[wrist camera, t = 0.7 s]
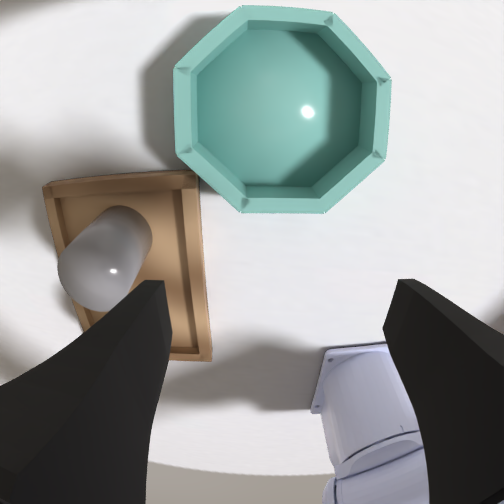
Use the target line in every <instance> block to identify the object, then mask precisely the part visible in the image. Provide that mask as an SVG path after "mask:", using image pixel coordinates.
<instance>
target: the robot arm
mask: <svg viewBox="0 0 504 504" xmlns="http://www.w3.org/2000/svg"><path fill="white" fill-rule="evenodd" d="M383 332H384V335H385V339H386V343H387V344H378V345H370V346H360V347H350V348H338V349H329V350H327V351H326V353H325V355H324V360H323V364H322V368H321V372H320V376H319V380H318V383H317V387H316V391H315V395H314V398H313V402H312V405H311V409H310V411H311V413H312V414H320V413H321V418H322V423H323V428H324V433H325V438H326V443H327V448H328V453H329V458H330V461H331V463H332V465H333V466H334V469H335V474H336V477H332V478H330V479H329V480H328V482H327V485H326V486H325V488H324V491H323V496H322V503H323V504H504V335H503V334H501V333H499V332H498V331H496V330H494V329H493V328H491V327H489V326H488V325H486V324H485V323H483V322H481V321H480V320H478V319H477V318H475V317H474V316H472V315H471V314H469V313H468V312H466V311H465V310H463V309H462V308H460V307H459V306H457V305H456V304H454V303H453V302H451V301H450V300H448V299H447V298H445V297H444V296H442V295H441V294H439V293H438V292H436V291H434V290H433V289H431V288H430V287H428V286H426V285H425V284H423V283H421V282H419V281H417V280H415V279H398V282H397V285H396V289H395V292H394V295H393V298H392V302H391V305H390V308H389V311H388V314H387V317H386V320H385V323H384V325H383ZM172 334H173V331H172V325H171V320H170V314H169V308H168V302H167V296H166V289H165V283H164V280H144V281H143V282H141V283H140V284H139V285H138V286H137V287H135V288H134V289H133V290H132V291H131V292H130V293H129V294H128V295H127V296H125V297H124V298H123V299H122V300H121V301H120V302H119V303H118V304H117V305H116V306H114V307H113V308H112V309H111V310H110V311H109V312H108V313H107V314H105V315H104V316H103V317H102V318H101V319H100V320H99V321H97V322H96V323H95V324H94V325H92V326H91V327H90V328H89V329H88V330H86V331H85V332H84V333H83V334H82V335H80V336H79V337H78V338H77V339H75V340H74V341H73V342H72V343H70V344H69V345H68V346H66V347H65V348H63V349H62V350H61V351H59V352H58V353H56V354H55V355H53V356H52V357H50V358H49V359H47V360H46V361H44V362H43V363H41V364H39V365H38V366H36V367H34V368H33V369H31V370H29V371H27V372H26V373H24V374H22V375H21V376H19V377H17V378H15V379H13V380H11V381H9V382H7V383H5V384H3V385H1V386H0V504H145V500H146V476H147V463H148V452H149V443H150V435H151V429H152V424H153V419H154V415H155V411H156V407H157V403H158V400H159V396H160V392H161V388H162V384H163V381H164V377H165V373H166V369H167V366H168V362H169V356H170V349H171V342H172ZM330 358H331V359H330Z"/></svg>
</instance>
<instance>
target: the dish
mask: <svg viewBox="0 0 504 504" xmlns="http://www.w3.org/2000/svg"><path fill="white" fill-rule="evenodd" d="M174 67H176V68H173V95H174V129H175V151H176V154H178V155H177V156H178V157H179V158H180V159H181V160H182V161H183V162H184V163H185V164H186V165H188V166H189V167H190V168H191V169H192V170H193V171H194V172H195V173H196V174H198V175H199V176H200V177H201V178H202V179H203V180H204V181H205V182H206V183H208V184H209V185H210V186H211V187H212V188H213V189H214V190H215V191H216V192H217V193H219V194H220V195H221V196H222V197H223V198H224V199H225V200H226V201H227V202H228V203H230V204H231V205H232V206H233V207H234V208H235V209H236V210H237V211H238V212H240V211H241V213H313V214H324V212H325V213H326V212H327V211H328V210H330V209H331V208H332V207H333V206H334V205H335V204H336V203H338V202H339V201H340V200H341V199H342V198H343V197H344V196H346V195H347V194H348V193H349V192H350V191H351V190H352V189H354V188H355V187H356V186H357V185H358V184H359V183H360V182H361V181H363V180H364V179H365V178H366V177H367V176H368V175H369V174H371V173H372V172H373V171H374V170H375V169H376V168H377V167H378V166H380V165H381V164H382V163H383V162H384V161H385V160H384V159H386V152H387V143H388V132H389V119H390V103H391V81H392V80H391V79H390V78H391V77H390V76H389V75H388V73H387V72H386V71H385V69H384V68H383V67H382V66H381V64H380V63H379V62H378V61H377V59H376V58H375V57H374V56H373V55H372V53H371V52H370V51H369V50H368V49H367V48H366V46H365V45H364V44H363V43H362V42H361V41H360V40H359V38H358V37H357V36H356V35H355V34H354V33H353V32H352V31H351V30H350V29H349V28H348V26H347V25H346V24H345V23H344V22H343V21H342V20H341V19H340V18H339V17H338V16H337V15H336V14H335V13H334V14H333V12H328V11H321V10H313V9H304V8H293V7H280V6H254V5H242V7H240V6H239V7H238V8H237V9H236V10H234V11H233V12H232V13H231V14H230V15H228V16H227V17H226V18H225V19H224V20H222V21H221V22H220V23H219V24H218V25H217V26H216V27H214V28H213V29H212V30H211V31H210V32H209V33H208V34H207V35H206V36H204V37H203V38H202V39H201V40H200V41H199V42H198V43H197V44H196V45H195V46H194V47H193V48H192V49H191V50H190V51H189V52H188V53H187V54H186V55H185V56H184V57H183V58H182V59H181V60H180V61H179V62H178V63H177V64H176V65H175V66H174Z"/></svg>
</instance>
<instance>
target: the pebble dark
mask: <svg viewBox="0 0 504 504" xmlns="http://www.w3.org/2000/svg"><path fill="white" fill-rule="evenodd" d="M152 242H153V236H152V231H151V228H150V226H149V224H148V222H147V220H146V219H145V218H144V217H143V216H142V215H141V214H140V213H139V212H138V211H136V210H134V209H132V208H130V207H127V206H122V205H117V206H112V207H109V208H107V209H105V210H104V211H103V212H102V213H100V214H99V215H98V216H97V217H96V218H95V219H94V220H93V221H92V222H91V223H90V224H89V225H88V226H87V227H86V228H85V229H84V230H83V231H82V232H81V233H80V234H79V235H78V236H77V237H76V238H75V239H74V240H73V241H72V242H71V243H70V244H69V245H68V246H67V247H66V248H65V249H64V250H63V252H62V253H61V255H60V257H59V260H58V275H59V279H60V281H61V284H62V286H63V288H64V289H65V291H66V292H67V293H68V294H69V296H70V297H71V298H72V299H73V300H75V301H76V302H77V303H79V304H80V305H82V306H83V307H85V308H88V309H90V310H94V311H99V312H107V311H110V310H111V309H112V308H113V307H114V306H116V305H117V304H118V303H119V302H120V301H121V300H122V299H123V298H124V297H125V296H127V294H128V292H129V290H130V288H131V286H132V284H133V282H134V280H135V278H136V276H137V274H138V272H139V271H140V269H141V267H142V265H143V263H144V261H145V259H146V257H147V255H148V253H149V252H150V250H151V247H152Z"/></svg>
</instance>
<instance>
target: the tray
mask: <svg viewBox="0 0 504 504" xmlns="http://www.w3.org/2000/svg"><path fill="white" fill-rule="evenodd" d="M42 190H43V195H44V200H45V205H46V210H47V214H48V219H49V223H50V227H51V231H52V235H53V239H54V243H55V247H56V251H57V254H58V258H59V257H60V255H61V253H62V252H63V250H64V249H65V248H66V247H67V246H68V245H69V244H70V243H71V242H72V241H73V240H74V239H75V238H76V237H77V236H78V235H79V234H80V233H81V232H82V231H83V230H84V229H85V228H86V227H87V226H88V225H89V224H90V223H91V222H92V221H93V220H94V219H95V218H96V217H97V216H98V215H99V214H100V213H102V212H103V211H104V210H105V209H107V208H109V207H112V206H117V205H122V206H127V207H130V208H132V209H134V210H136V211H138V212H139V213H140V214H141V215H142V216H143V217H144V218H145V219H146V220H147V222H148V224H149V226H150V228H151V231H152V236H153V242H152V247H151V250H150V252H149V253H148V255H147V257H146V259H145V261H144V263H143V265H142V267H141V269H140V271H139V272H138V274H137V276H136V278H135V280H134V282H133V284H132V286H131V288H130V290H129V292H128V294H129V293H130V292H131V291H132V290H133V289H134V288H135V287H137V286H138V285H139V284H140V283H141V282H143V281H144V280H164V283H165V289H166V296H167V302H168V308H169V314H170V320H171V325H172V331H173V334H172V342H171V349H170V356H169V360H177V361H206V362H211V361H212V342H211V333H210V323H209V313H208V302H207V291H206V279H205V267H204V254H203V240H202V225H201V209H200V190H199V175H198V174H196V173H195V172H194V171H193V170H171V171H154V172H139V173H126V174H114V175H104V176H94V177H85V178H76V179H68V180H60V181H53V182H50V183H48V184H47V185H45V186H43V187H42ZM128 294H127V295H128ZM72 301H73V304H74V307H75V309H76V312H77V315H78V317H79V320H80V323H81V325H82V328H83V330H84V332H85V331H86V330H88V329H89V328H90V327H91V326H92V325H94V324H95V323H96V322H97V321H99V320H100V319H101V318H102V317H103V316H104V315H105V314H107V313H108V312H109V311H107V312H99V311H94V310H90V309H88V308H85V307H83V306H82V305H80V304H79V303H77V302H76V301H75V300H73V299H72Z"/></svg>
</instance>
